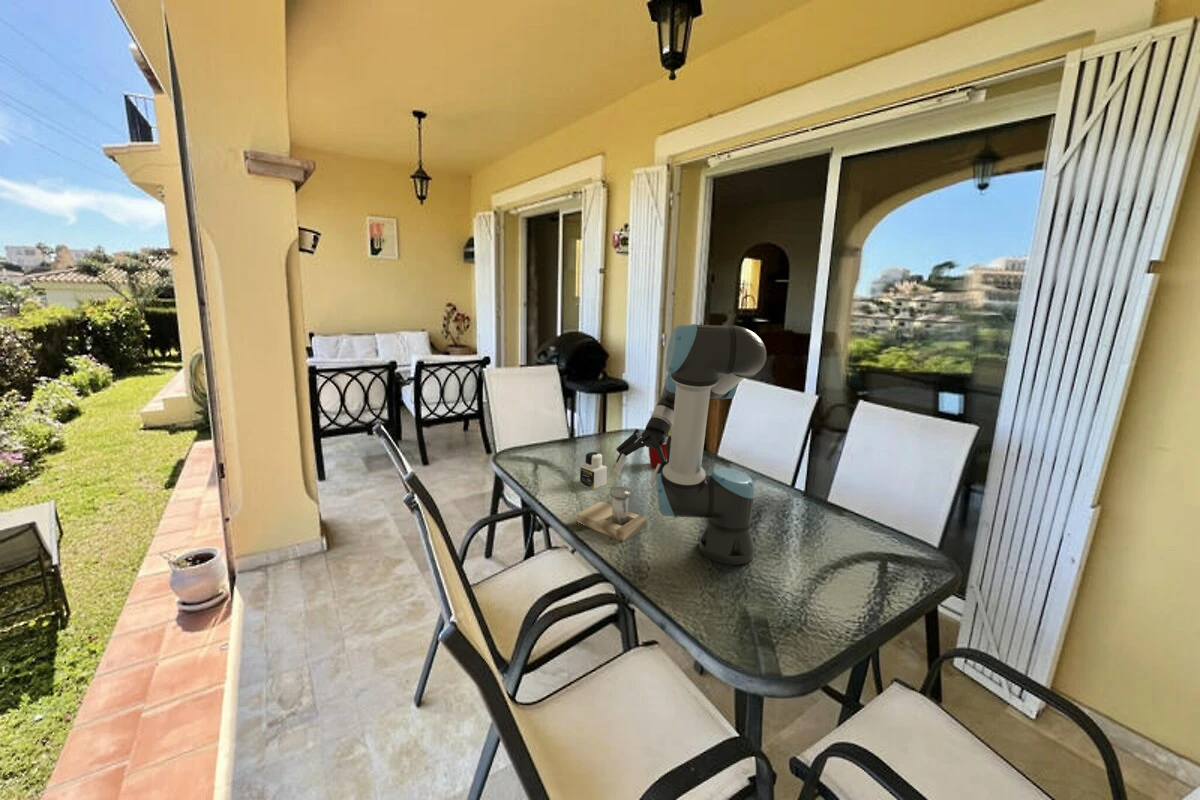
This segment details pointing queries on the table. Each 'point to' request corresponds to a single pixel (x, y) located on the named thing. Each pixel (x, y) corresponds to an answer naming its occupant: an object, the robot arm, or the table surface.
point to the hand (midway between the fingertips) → (633, 478)
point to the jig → (610, 521)
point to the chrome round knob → (620, 504)
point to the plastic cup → (655, 457)
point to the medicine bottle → (593, 471)
